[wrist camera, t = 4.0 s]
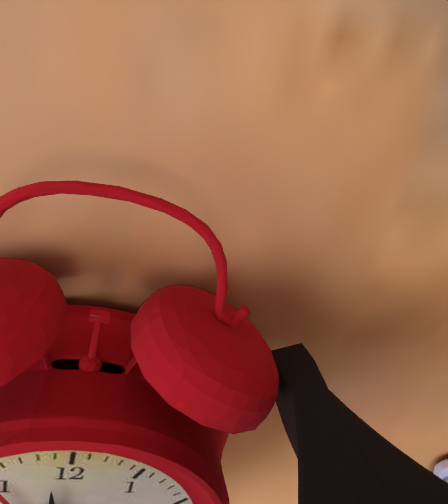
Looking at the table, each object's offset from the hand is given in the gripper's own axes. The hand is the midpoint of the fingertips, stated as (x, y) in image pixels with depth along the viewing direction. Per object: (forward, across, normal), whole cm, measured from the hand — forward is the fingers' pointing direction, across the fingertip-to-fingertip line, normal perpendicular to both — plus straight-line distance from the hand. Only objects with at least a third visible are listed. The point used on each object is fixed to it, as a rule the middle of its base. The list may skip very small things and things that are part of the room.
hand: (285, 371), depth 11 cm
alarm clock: (+2, +6, 0) cm, 7 cm away
